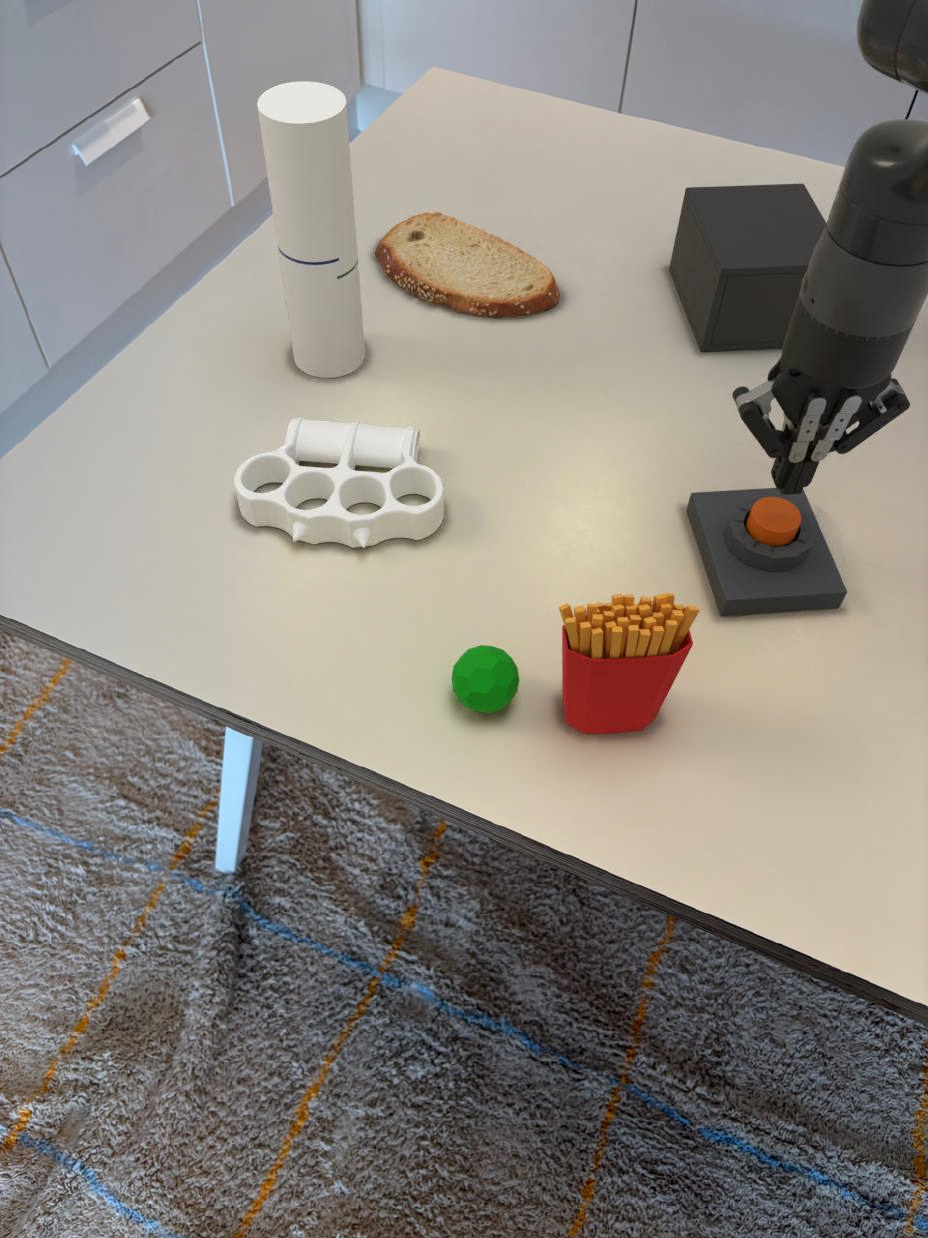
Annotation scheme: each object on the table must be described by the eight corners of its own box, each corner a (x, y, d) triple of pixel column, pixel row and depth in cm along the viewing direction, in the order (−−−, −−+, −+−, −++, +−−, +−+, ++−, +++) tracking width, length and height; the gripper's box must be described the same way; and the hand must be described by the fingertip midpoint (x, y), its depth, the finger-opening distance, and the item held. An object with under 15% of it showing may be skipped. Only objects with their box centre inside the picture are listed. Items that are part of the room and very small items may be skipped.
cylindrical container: (284, 342, 101) (246, 89, 81) (351, 326, 103) (329, 75, 83) (306, 385, 97) (271, 130, 77) (375, 367, 99) (358, 113, 79)
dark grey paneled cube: (668, 269, 110) (685, 187, 103) (778, 264, 111) (803, 182, 104) (700, 352, 102) (721, 268, 94) (819, 346, 103) (850, 263, 95)
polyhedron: (519, 722, 74) (524, 687, 70) (454, 726, 74) (455, 691, 70) (512, 667, 77) (516, 631, 74) (449, 671, 77) (450, 634, 73)
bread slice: (567, 311, 105) (571, 280, 102) (401, 334, 102) (400, 303, 99) (520, 220, 116) (523, 189, 113) (368, 238, 113) (366, 208, 110)
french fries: (659, 683, 77) (693, 575, 66) (670, 731, 74) (707, 626, 64) (541, 689, 76) (557, 581, 66) (548, 738, 74) (566, 633, 63)
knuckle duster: (454, 448, 92) (436, 568, 83) (262, 432, 93) (224, 549, 84) (454, 420, 90) (436, 541, 81) (257, 404, 90) (217, 522, 81)
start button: (740, 512, 83) (745, 497, 82) (787, 509, 83) (793, 494, 82) (753, 548, 81) (759, 533, 79) (801, 545, 81) (808, 530, 79)
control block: (685, 509, 88) (695, 477, 85) (795, 503, 89) (808, 470, 86) (720, 617, 81) (731, 585, 78) (839, 608, 82) (855, 577, 78)
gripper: (777, 338, 62) (717, 527, 75) (981, 327, 63) (885, 516, 76) (745, 267, 66) (693, 458, 80) (936, 258, 67) (852, 448, 81)
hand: (787, 486), depth 78 cm, fingers closed
